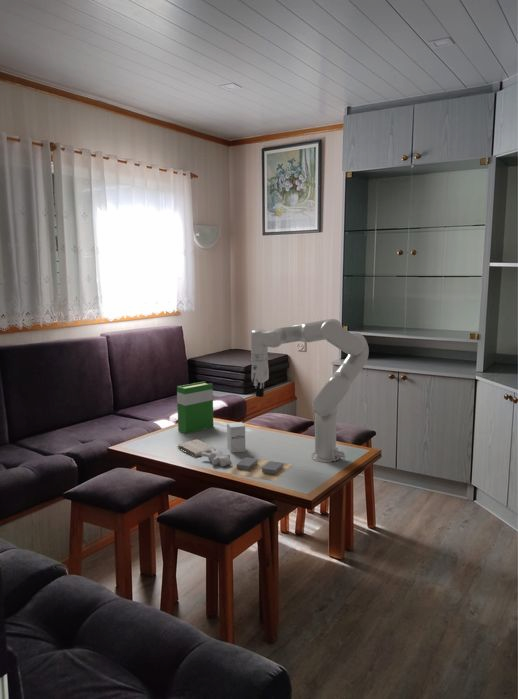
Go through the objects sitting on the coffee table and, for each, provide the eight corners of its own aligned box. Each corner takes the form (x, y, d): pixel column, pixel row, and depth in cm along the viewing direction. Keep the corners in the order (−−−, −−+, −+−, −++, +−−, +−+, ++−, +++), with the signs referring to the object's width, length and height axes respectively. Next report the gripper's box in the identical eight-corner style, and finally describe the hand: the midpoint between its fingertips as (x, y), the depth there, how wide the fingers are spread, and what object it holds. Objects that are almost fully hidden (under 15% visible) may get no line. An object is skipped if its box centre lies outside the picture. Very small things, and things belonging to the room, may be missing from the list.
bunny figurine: (219, 461, 235) (198, 449, 246) (218, 472, 236) (198, 459, 247) (236, 456, 241) (215, 444, 252) (235, 466, 243) (214, 454, 253)
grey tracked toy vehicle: (196, 443, 272) (196, 437, 272) (217, 453, 258) (217, 446, 258) (175, 448, 265) (175, 442, 264) (195, 458, 251) (195, 452, 250)
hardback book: (205, 423, 303) (204, 381, 299) (213, 426, 297) (212, 383, 294) (178, 430, 292) (176, 386, 288) (186, 433, 286) (184, 388, 282)
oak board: (292, 465, 241) (292, 464, 241) (275, 481, 223) (275, 481, 223) (245, 457, 250) (245, 457, 250) (225, 473, 232) (225, 472, 232)
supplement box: (230, 453, 256) (230, 427, 254) (227, 448, 263) (226, 422, 261) (245, 451, 258) (245, 425, 256) (242, 446, 265) (241, 421, 263)
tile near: (283, 462, 237) (275, 470, 229) (283, 467, 237) (275, 475, 229) (270, 461, 239) (262, 468, 231) (270, 465, 239) (262, 472, 231)
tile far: (257, 459, 242) (249, 466, 233) (257, 463, 242) (249, 470, 234) (245, 457, 244) (236, 464, 236) (245, 461, 244) (236, 468, 236)
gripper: (260, 360, 241) (260, 400, 244) (273, 354, 255) (273, 393, 258) (244, 359, 244) (245, 399, 247) (258, 354, 258) (258, 392, 261)
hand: (259, 396), depth 252 cm, fingers closed
